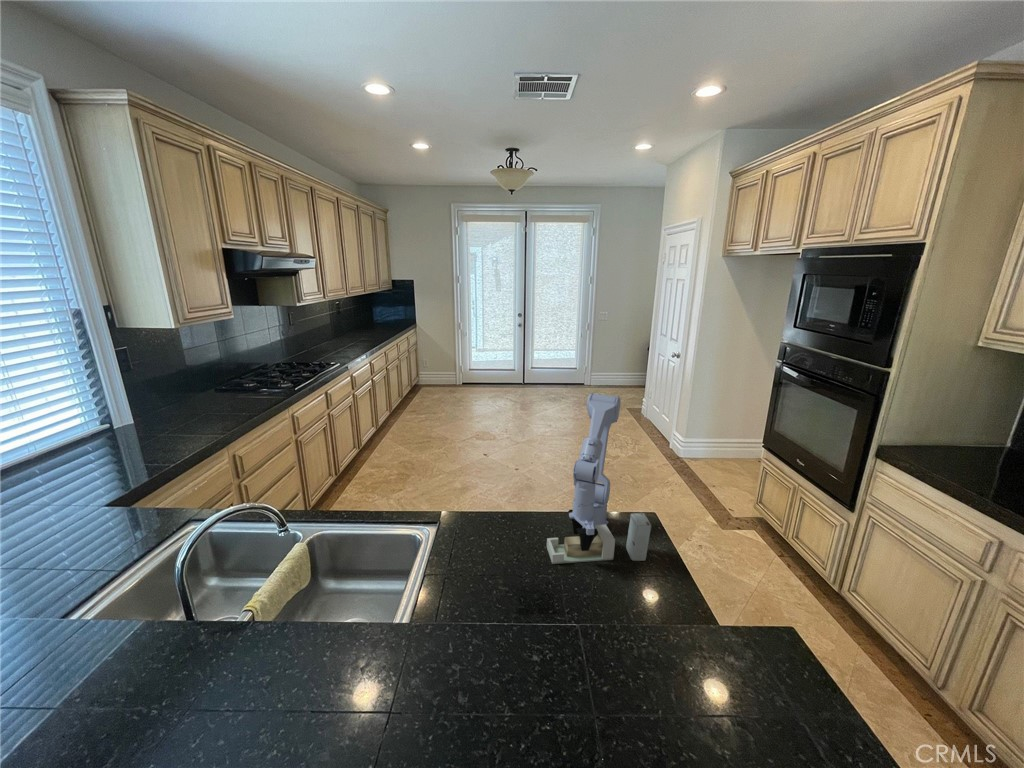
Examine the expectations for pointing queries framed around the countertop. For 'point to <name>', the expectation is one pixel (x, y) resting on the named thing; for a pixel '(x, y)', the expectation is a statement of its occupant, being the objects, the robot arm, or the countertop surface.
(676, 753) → the countertop surface
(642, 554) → the skincare box
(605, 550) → the endcap rail
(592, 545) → the tan rectangular block
